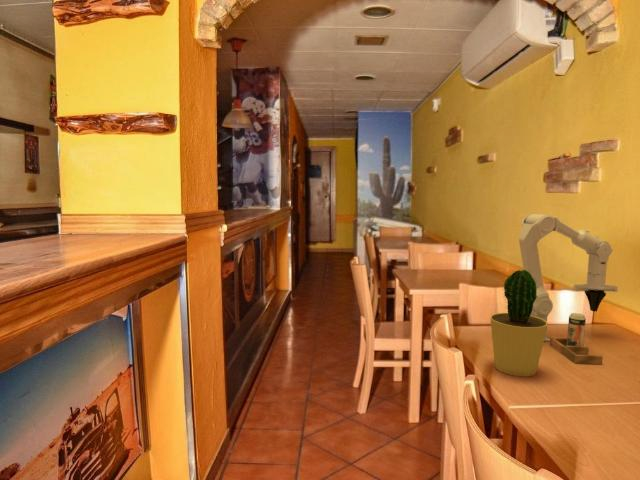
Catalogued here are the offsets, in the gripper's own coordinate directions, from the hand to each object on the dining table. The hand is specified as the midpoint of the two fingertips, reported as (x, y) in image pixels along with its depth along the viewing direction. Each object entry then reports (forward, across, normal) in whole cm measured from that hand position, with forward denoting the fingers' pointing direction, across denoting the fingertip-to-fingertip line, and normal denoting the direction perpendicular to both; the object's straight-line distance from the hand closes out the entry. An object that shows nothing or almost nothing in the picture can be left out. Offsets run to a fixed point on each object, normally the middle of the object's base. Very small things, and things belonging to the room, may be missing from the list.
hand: (593, 310), depth 167 cm
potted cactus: (+10, -40, -34) cm, 53 cm away
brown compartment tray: (+9, -16, -20) cm, 27 cm away
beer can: (+10, -14, -16) cm, 23 cm away
